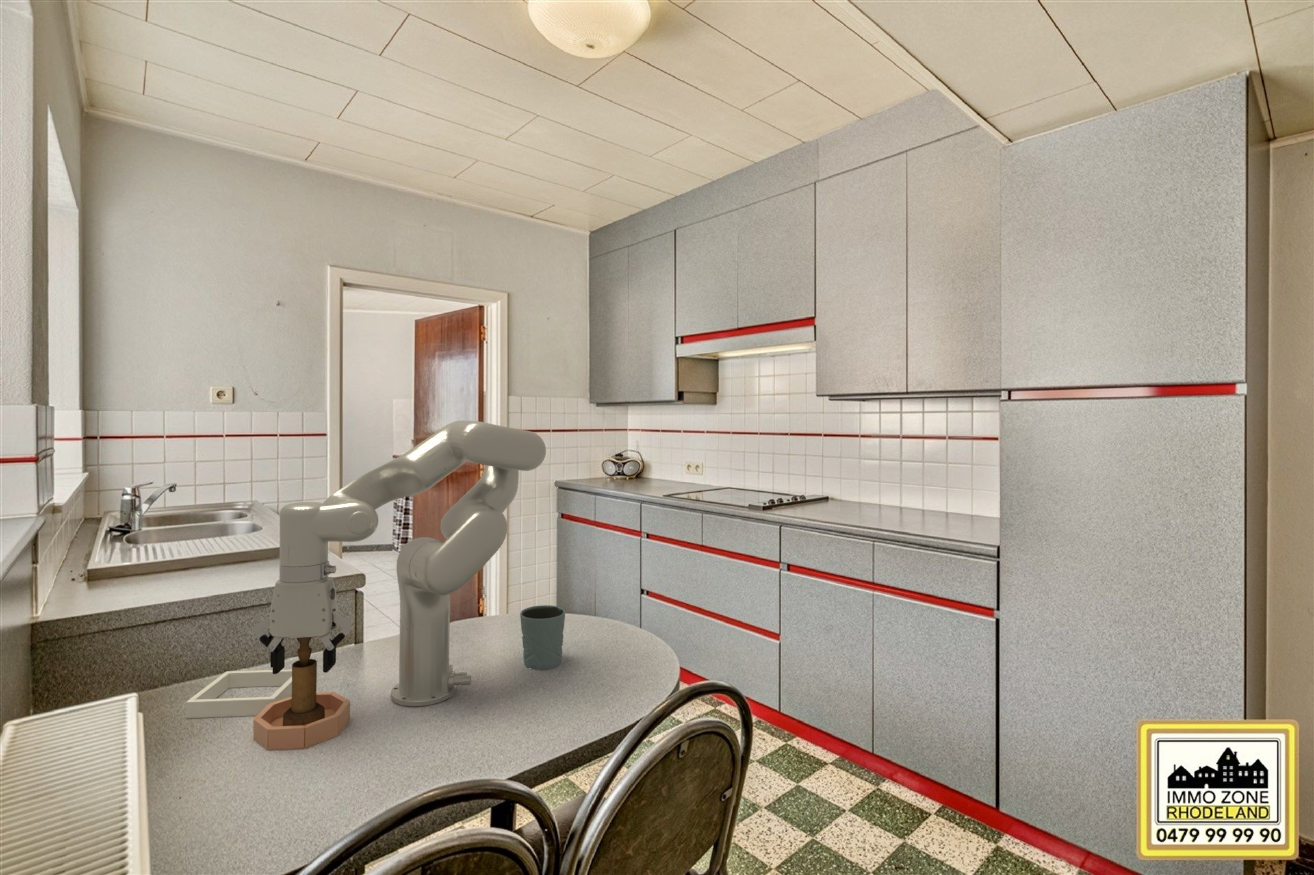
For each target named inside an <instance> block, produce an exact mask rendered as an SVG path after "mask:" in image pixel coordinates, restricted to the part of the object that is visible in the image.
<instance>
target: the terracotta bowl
mask: <svg viewBox="0 0 1314 875" xmlns="http://www.w3.org/2000/svg"><path fill="white" fill-rule="evenodd" d="M316 702H317V703H319V704H320V705H322V706H324V708H325V718H323V719H321V720H318V721H315V722H312V723H310V724H307V725H300V726H283V715H284V713H285V712H286V711H287V710H288V709H289V708H290V707H291V705H292V696H291V697H289V698H285V699H282V700H279V701H276V702H273V703H270V704H268V705H267V706H266V707H265V708H264V709H263V710H262V711H261V712H260V713H259V714H258V715H257V716H254V718H253V731H252V732H253V736H252V737H253V740H254V741H255V742H256V743H257V744H259V745H261V746H262V747H263V748H264V749H266V750H267V751H278V750H299V749H300V750H301V749H302V750H303V749H307V748H309V747H312V746H315V745H317V744H319V743H322V742H326V741H327V740H330V739H333V738H336V737H338V736H340V734H341V733H342V732H343V731H344V729H345V728H346V726H347V725H348V723H349V722H350V720H351V700H350V699H348V698H346V697H345V696H343V695H341V694H339V693H338V692H336V691H328V692H327V691H325V692H322V691H321V692H316Z"/></svg>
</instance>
